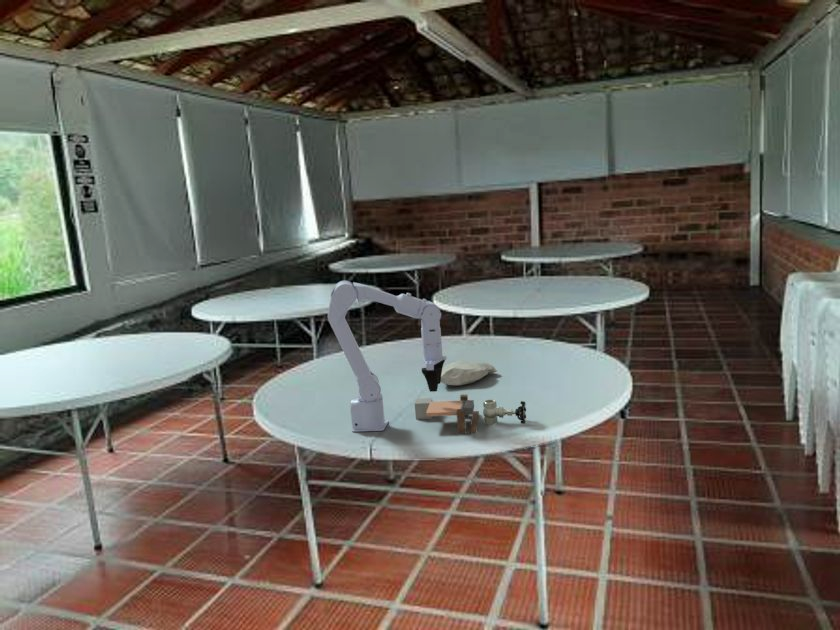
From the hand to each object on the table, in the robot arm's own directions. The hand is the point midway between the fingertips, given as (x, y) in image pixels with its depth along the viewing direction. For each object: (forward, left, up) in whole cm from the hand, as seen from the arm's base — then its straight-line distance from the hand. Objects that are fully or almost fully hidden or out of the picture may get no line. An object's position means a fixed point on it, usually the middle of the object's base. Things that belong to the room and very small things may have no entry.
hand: (435, 387), depth 195 cm
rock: (+4, +40, -10) cm, 41 cm away
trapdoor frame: (+10, -5, -10) cm, 15 cm away
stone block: (-4, +3, -10) cm, 11 cm away
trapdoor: (+5, -5, -6) cm, 9 cm away
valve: (+20, -5, -10) cm, 23 cm away
